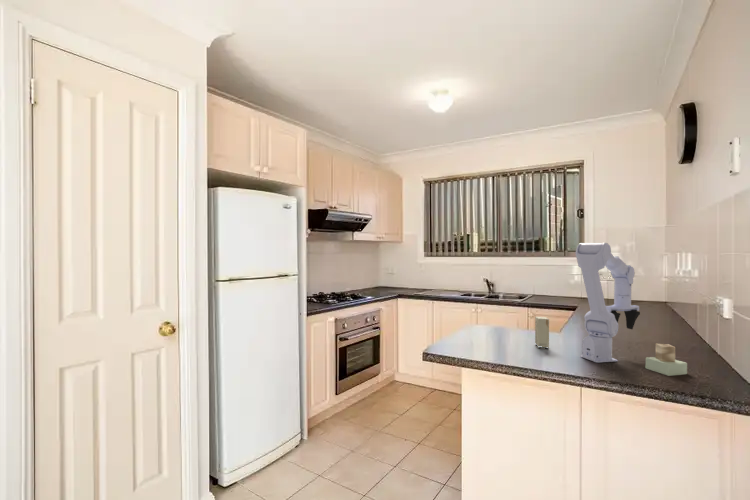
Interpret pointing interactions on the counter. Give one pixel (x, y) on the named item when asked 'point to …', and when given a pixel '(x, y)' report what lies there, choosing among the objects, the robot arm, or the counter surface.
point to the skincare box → (542, 331)
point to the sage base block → (666, 366)
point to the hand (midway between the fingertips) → (622, 329)
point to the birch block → (665, 352)
